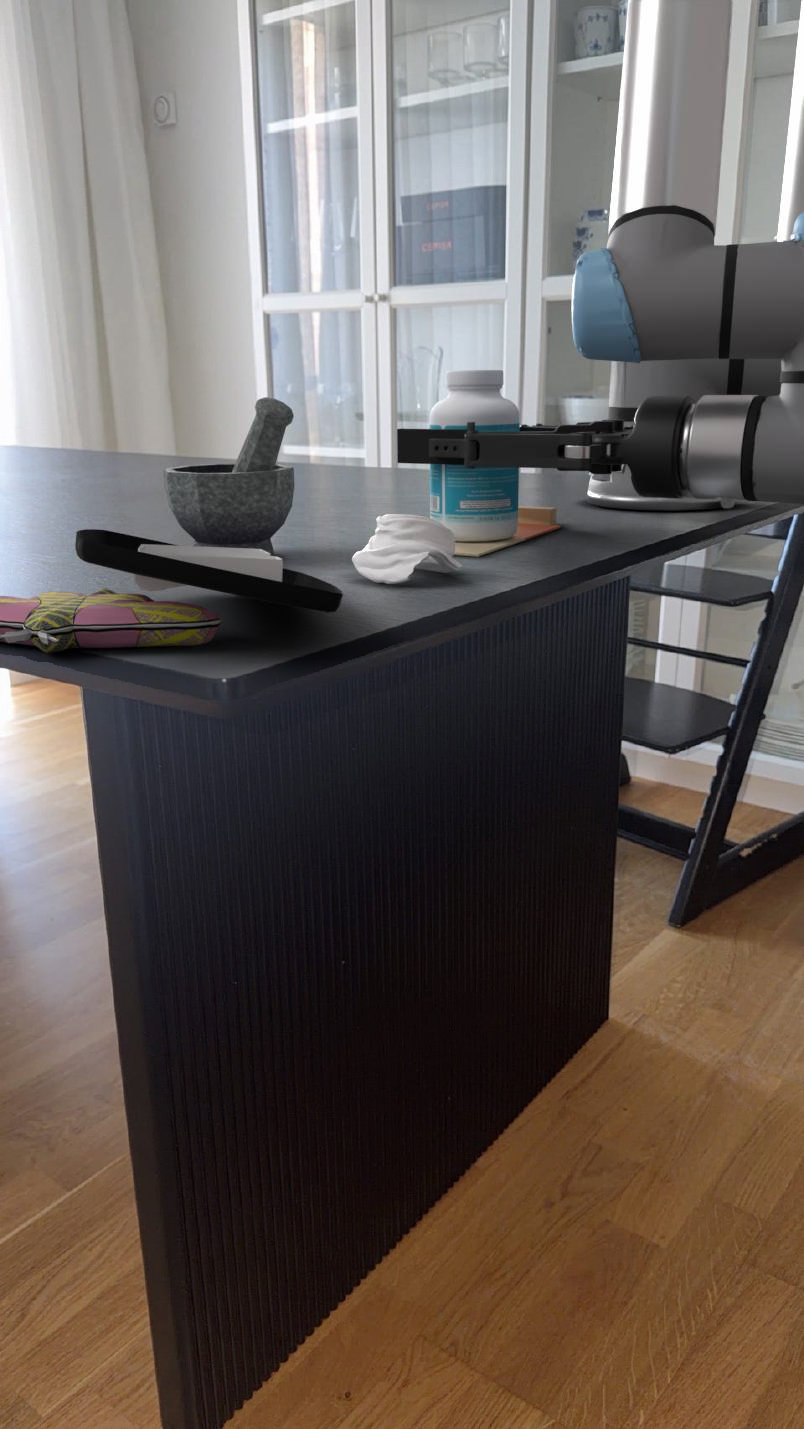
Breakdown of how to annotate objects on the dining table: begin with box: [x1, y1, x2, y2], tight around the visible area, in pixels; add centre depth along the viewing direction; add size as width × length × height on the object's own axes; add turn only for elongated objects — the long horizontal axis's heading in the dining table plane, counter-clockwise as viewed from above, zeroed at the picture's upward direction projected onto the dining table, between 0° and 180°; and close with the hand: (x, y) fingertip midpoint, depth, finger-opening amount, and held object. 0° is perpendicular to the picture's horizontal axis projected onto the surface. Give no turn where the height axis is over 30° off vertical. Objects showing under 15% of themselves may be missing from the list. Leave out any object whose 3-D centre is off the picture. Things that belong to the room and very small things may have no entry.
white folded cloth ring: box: [351, 513, 463, 585], centre depth 73 cm, size 8×7×5 cm
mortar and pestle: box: [162, 396, 295, 556], centre depth 80 cm, size 11×9×12 cm
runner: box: [453, 523, 562, 558], centre depth 91 cm, size 18×8×1 cm, turn 152°
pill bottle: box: [429, 369, 521, 542], centre depth 88 cm, size 8×7×14 cm
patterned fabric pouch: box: [0, 588, 222, 654], centre depth 56 cm, size 17×2×10 cm
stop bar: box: [518, 505, 558, 525], centre depth 99 cm, size 1×6×2 cm, turn 61°
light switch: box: [74, 528, 344, 613], centre depth 59 cm, size 20×3×14 cm
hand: (422, 443), depth 90 cm, fingers closed on pill bottle, 7 cm apart
